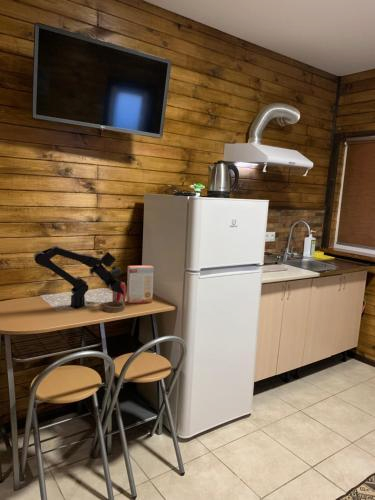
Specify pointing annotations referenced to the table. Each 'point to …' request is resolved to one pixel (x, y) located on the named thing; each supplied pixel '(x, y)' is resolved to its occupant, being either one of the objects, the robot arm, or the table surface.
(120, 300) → the soda can
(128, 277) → the cracker box
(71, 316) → the table surface
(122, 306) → the ring
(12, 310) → the table surface
